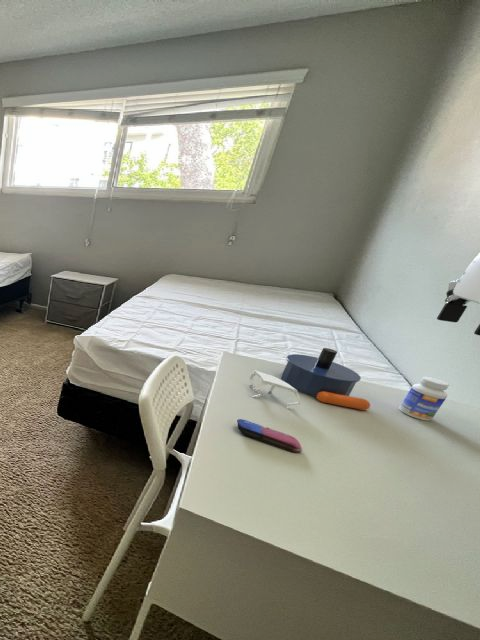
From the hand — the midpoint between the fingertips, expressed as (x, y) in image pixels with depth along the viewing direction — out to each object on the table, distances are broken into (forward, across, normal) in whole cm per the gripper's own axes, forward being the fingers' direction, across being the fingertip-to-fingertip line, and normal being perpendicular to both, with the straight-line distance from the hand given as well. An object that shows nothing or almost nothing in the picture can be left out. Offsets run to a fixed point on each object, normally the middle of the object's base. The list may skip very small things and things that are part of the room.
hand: (464, 328), depth 75 cm
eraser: (+24, -26, +36) cm, 51 cm away
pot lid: (+18, +8, +15) cm, 25 cm away
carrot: (+23, +1, +7) cm, 24 cm away
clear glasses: (+24, -5, +29) cm, 38 cm away
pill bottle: (+24, +4, -4) cm, 25 cm away
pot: (+24, +8, +15) cm, 30 cm away
